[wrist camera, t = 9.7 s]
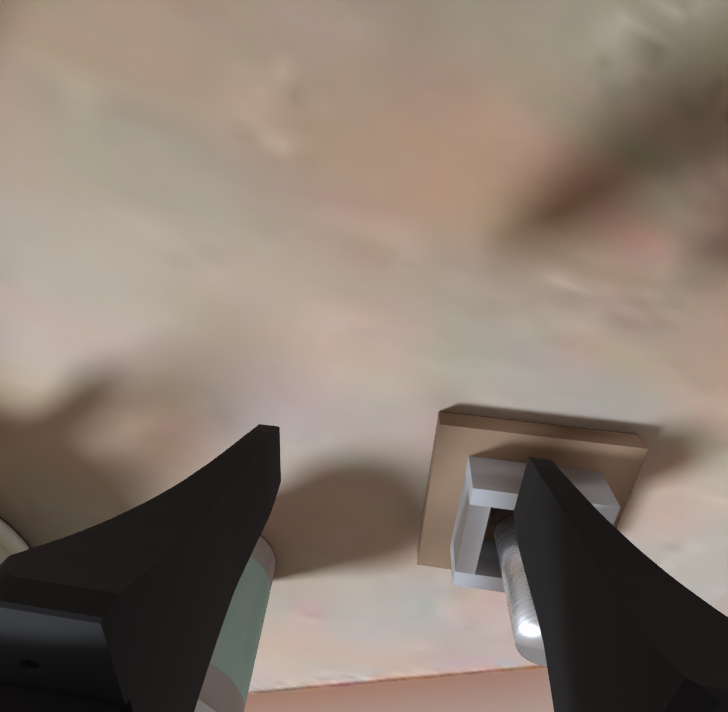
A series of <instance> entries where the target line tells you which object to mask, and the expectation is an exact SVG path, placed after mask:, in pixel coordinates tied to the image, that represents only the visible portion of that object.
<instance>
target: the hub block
mask: <svg viewBox="0 0 728 712" xmlns="http://www.w3.org/2000/svg"><path fill="white" fill-rule="evenodd" d="M647 451H648V448H647V446H646V445H645V444H644V442H643V441H642V440H641V438H640V437H639V436H638V435H637V434H629V433H620V432H611V431H603V430H594V429H585V428H577V427H568V426H559V425H550V424H542V423H533V422H524V421H516V420H507V419H498V418H490V417H481V416H472V415H463V414H455V413H446V412H439V414H438V420H437V427H436V433H435V439H434V446H433V452H432V459H431V465H430V472H429V478H428V485H427V491H426V498H425V504H424V510H423V517H422V523H421V530H420V536H419V543H418V558H417V565H424V566H431V567H438V568H445V569H452V584H453V585H457V586H464V587H471V588H478V589H485V590H491V591H498V592H505V589H504V584H503V579H502V574H501V568H500V563H499V558H498V553H497V548H496V543H495V538H494V533H493V528H492V522H491V517H490V509H491V507H492V508H500V509H507V510H514V508H515V505H516V501H517V497H518V494H519V490H520V486H521V482H522V479H523V475H524V471H525V468H526V464H527V460H528V457H532V458H541V459H549V460H551V461H552V462H553V463H554V464H555V465H556V466H557V467H558V468H559V469H560V470H561V471H562V472H563V473H564V475H565V476H566V477H567V478H568V479H569V480H570V481H571V482H572V483H573V484H574V485H575V487H576V488H577V489H578V490H579V491H580V492H581V493H582V494H583V495H584V496H585V497H586V498H587V500H588V501H589V502H590V503H591V504H592V505H593V506H594V507H595V508H596V509H597V510H598V511H599V512H600V513H601V514H602V515H603V516H604V517H605V518H606V519H607V520H608V521H609V522H610V523H611V524H612V525H613V526H614V527H615V528H616V527H617V524H618V522H619V519H620V517H621V515H622V512H623V510H624V507H625V505H626V502H627V500H628V498H629V495H630V493H631V490H632V488H633V485H634V483H635V481H636V478H637V476H638V473H639V471H640V468H641V466H642V463H643V461H644V459H645V456H646V454H647Z"/></svg>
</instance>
